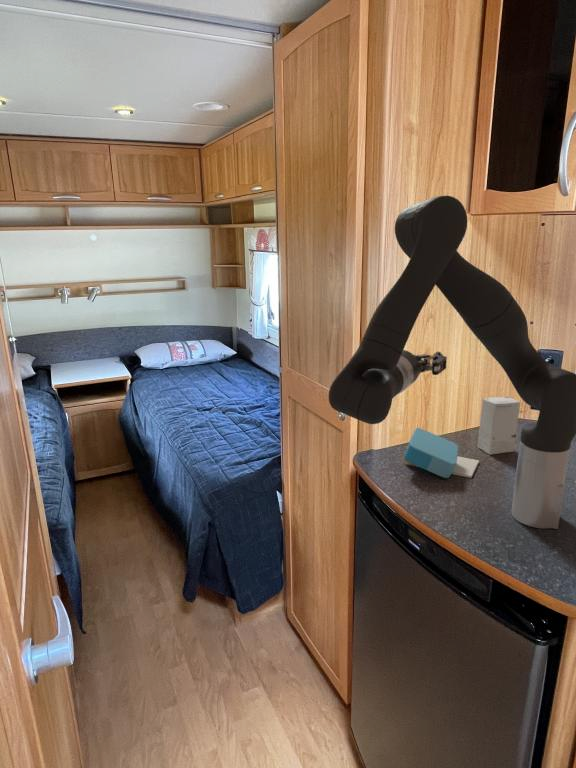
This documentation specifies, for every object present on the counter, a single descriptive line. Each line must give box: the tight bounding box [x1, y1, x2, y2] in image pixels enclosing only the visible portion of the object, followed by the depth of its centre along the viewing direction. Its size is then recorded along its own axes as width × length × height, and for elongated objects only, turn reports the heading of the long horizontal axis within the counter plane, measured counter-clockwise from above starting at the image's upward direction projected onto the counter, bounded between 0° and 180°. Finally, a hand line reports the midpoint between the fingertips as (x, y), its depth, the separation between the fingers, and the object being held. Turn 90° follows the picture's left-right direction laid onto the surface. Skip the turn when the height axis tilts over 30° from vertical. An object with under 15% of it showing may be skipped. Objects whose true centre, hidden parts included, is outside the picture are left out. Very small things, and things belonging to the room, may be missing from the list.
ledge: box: [404, 451, 417, 467], centre depth 136 cm, size 3×10×4 cm, turn 149°
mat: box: [416, 455, 480, 479], centre depth 132 cm, size 14×10×1 cm
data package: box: [403, 427, 459, 479], centre depth 129 cm, size 12×4×12 cm
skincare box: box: [477, 396, 521, 456], centre depth 139 cm, size 8×6×15 cm
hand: (419, 354), depth 110 cm, fingers open, 8 cm apart
